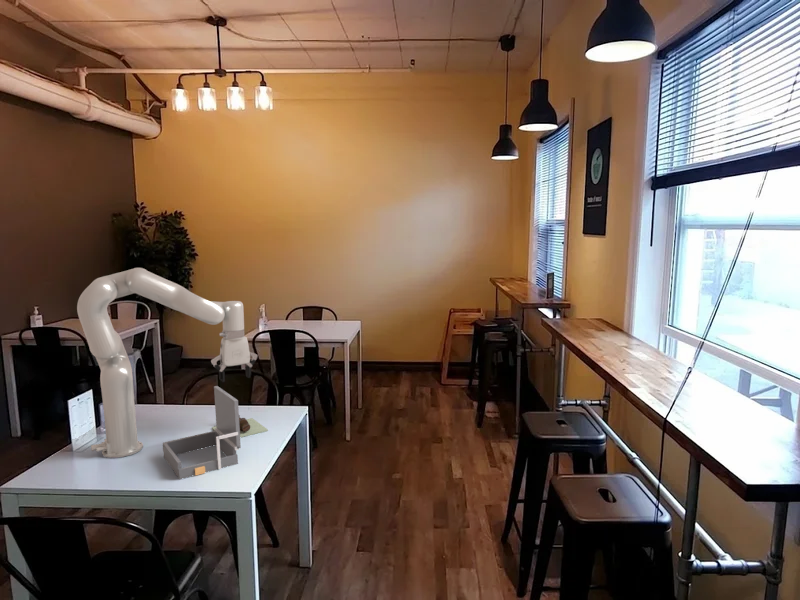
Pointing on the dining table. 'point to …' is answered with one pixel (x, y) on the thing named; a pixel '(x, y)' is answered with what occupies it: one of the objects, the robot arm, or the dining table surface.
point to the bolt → (243, 424)
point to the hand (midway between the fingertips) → (235, 379)
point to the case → (210, 439)
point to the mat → (251, 428)
